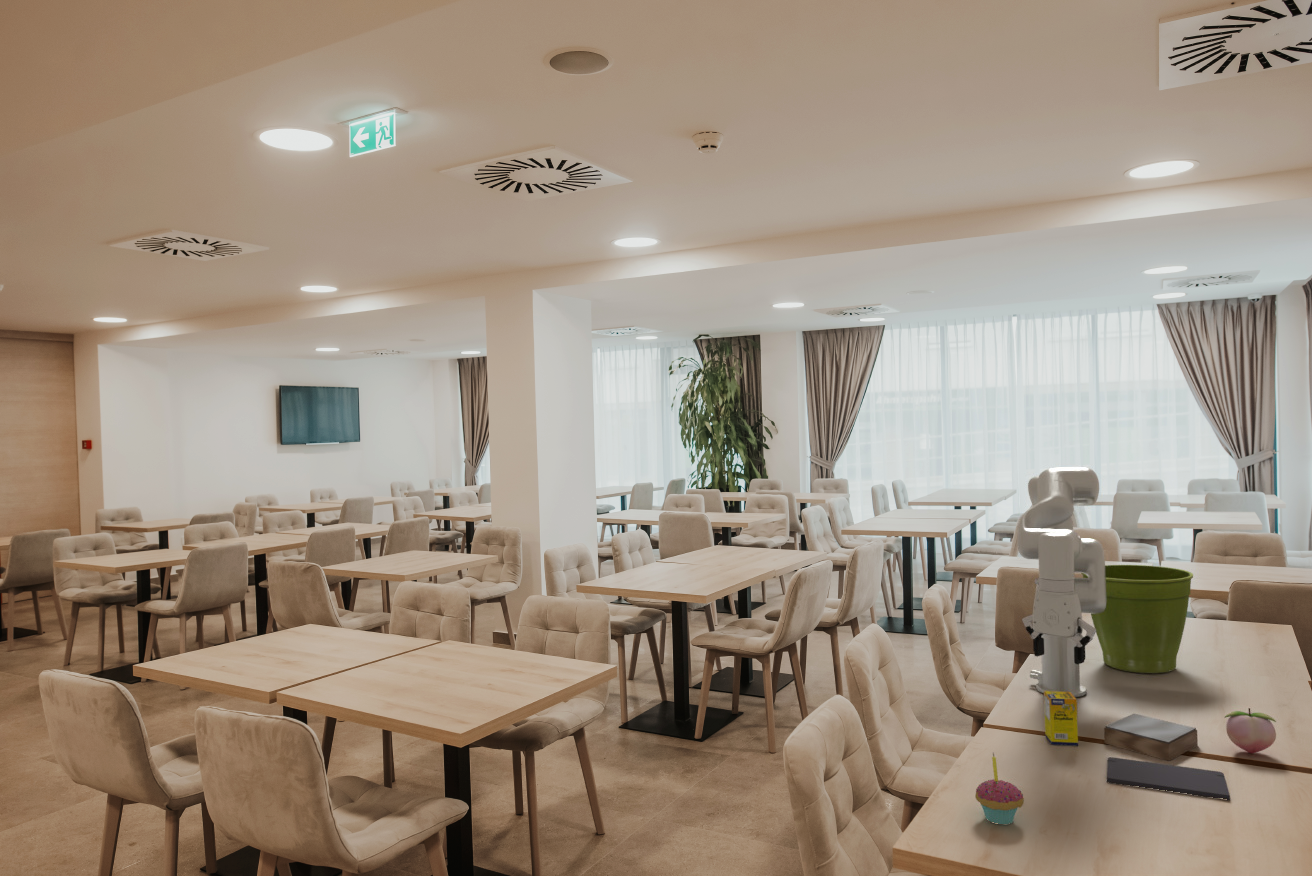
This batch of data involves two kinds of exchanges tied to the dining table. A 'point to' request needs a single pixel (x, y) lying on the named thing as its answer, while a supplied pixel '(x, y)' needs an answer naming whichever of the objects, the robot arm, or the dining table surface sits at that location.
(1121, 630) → the plant pot
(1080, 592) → the robot arm
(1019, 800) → the cupcake
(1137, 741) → the dock
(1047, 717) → the supplement box
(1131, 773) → the notebook
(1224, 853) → the dining table surface
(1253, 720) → the decorative fruit
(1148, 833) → the dining table surface
